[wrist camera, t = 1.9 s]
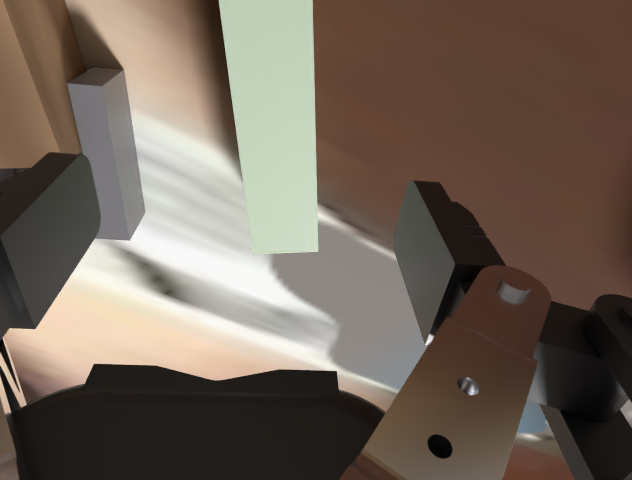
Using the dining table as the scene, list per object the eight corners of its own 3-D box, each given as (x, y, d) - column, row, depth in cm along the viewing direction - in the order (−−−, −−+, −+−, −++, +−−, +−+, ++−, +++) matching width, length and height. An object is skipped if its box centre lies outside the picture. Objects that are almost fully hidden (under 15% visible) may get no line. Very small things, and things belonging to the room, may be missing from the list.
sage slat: (306, -130, 18) (309, -151, 14) (314, 204, 27) (318, 251, 23) (221, -128, 18) (198, -148, 14) (259, 206, 27) (252, 254, 23)
